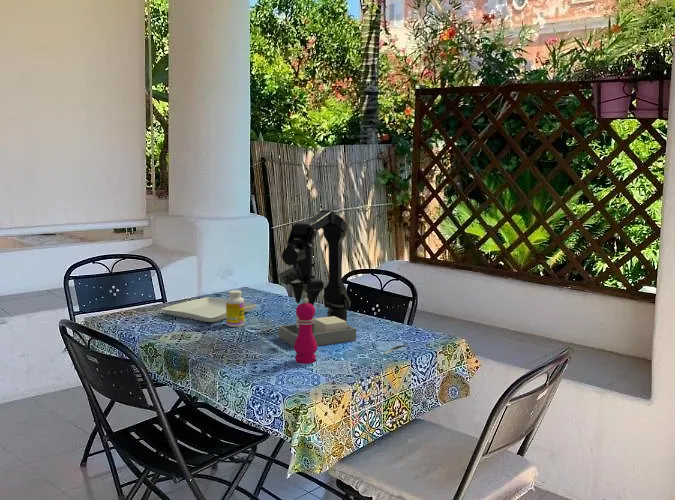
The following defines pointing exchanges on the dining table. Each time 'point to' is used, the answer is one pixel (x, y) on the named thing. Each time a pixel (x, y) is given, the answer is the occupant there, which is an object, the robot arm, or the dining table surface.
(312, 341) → the pepper mill
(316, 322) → the cream hollow cover
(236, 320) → the supplement bottle
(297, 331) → the tin
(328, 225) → the robot arm
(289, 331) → the tote
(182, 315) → the square plate
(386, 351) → the butter knife
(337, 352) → the dining table surface
